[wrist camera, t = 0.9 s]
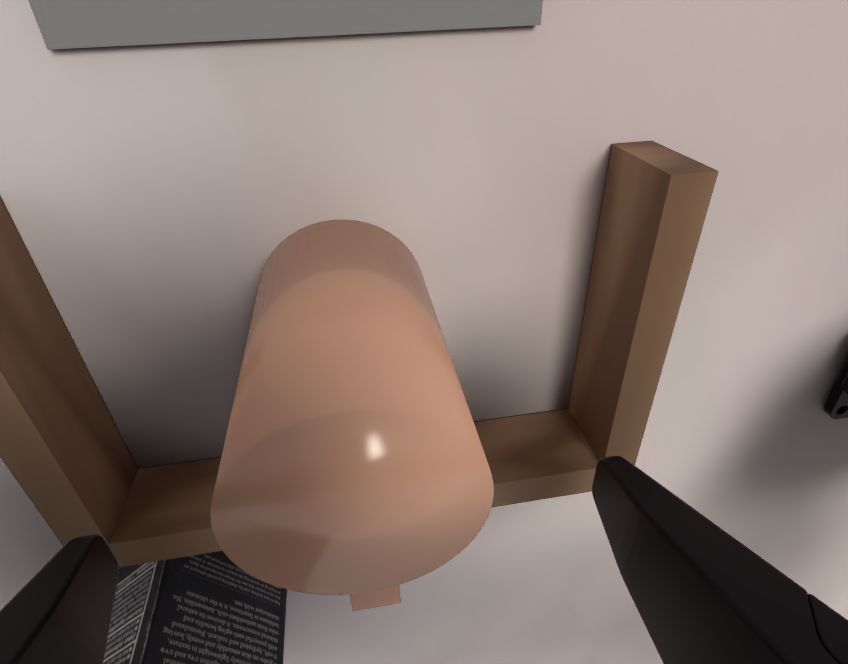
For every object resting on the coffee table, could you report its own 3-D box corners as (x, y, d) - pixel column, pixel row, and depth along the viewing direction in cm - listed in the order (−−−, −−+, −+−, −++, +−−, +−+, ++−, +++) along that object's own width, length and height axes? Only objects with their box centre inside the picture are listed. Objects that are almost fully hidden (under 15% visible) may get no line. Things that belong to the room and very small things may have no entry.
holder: (652, 140, 15) (718, 171, 12) (592, 426, 21) (629, 485, 18) (-56, 196, 12) (-149, 246, 10) (114, 496, 19) (82, 573, 16)
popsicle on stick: (421, 212, 15) (500, 390, 8) (428, 406, 19) (485, 629, 12) (241, 228, 14) (170, 434, 8) (290, 425, 18) (271, 669, 12)
